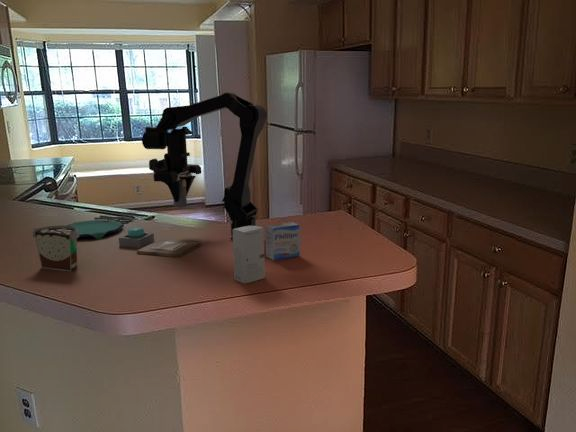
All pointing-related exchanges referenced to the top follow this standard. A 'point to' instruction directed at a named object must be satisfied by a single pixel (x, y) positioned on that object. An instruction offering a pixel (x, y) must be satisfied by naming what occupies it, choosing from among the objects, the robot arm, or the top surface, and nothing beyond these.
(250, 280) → the skincare box
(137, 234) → the button
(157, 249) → the drawing board
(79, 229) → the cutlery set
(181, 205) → the pink and grey capsule
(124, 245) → the button housing
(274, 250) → the medicine box
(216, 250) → the top surface
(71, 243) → the food container
